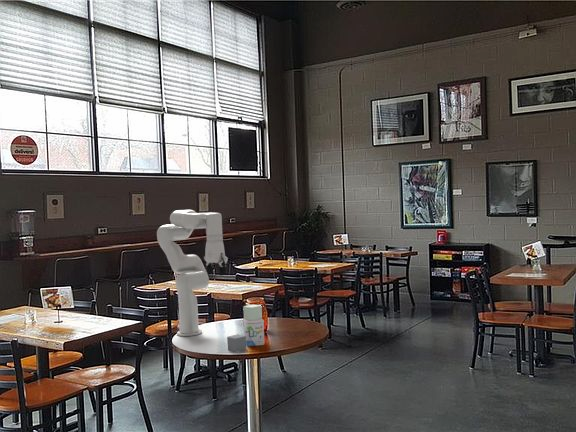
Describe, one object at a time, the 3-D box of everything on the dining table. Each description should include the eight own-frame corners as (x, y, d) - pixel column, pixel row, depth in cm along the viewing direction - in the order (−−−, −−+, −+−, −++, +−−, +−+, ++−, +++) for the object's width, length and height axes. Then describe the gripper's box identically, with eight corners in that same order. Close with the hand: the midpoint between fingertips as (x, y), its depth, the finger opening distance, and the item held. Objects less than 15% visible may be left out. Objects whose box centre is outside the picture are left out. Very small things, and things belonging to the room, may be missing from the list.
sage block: (243, 319, 268) (243, 306, 268) (253, 317, 272) (253, 304, 272) (252, 320, 264) (251, 307, 264) (262, 318, 268) (261, 305, 268)
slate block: (227, 350, 258) (227, 336, 258) (238, 347, 262) (237, 334, 262) (236, 352, 254) (235, 338, 254) (246, 349, 258) (245, 336, 258)
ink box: (246, 346, 263) (245, 321, 263) (244, 342, 271) (243, 317, 271) (264, 344, 265) (263, 319, 264) (262, 340, 273) (260, 316, 273)
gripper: (197, 239, 277) (199, 274, 277) (219, 239, 264) (221, 276, 264) (210, 238, 282) (211, 272, 282) (232, 238, 269) (234, 274, 270)
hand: (216, 274), depth 273 cm, fingers open, 9 cm apart
